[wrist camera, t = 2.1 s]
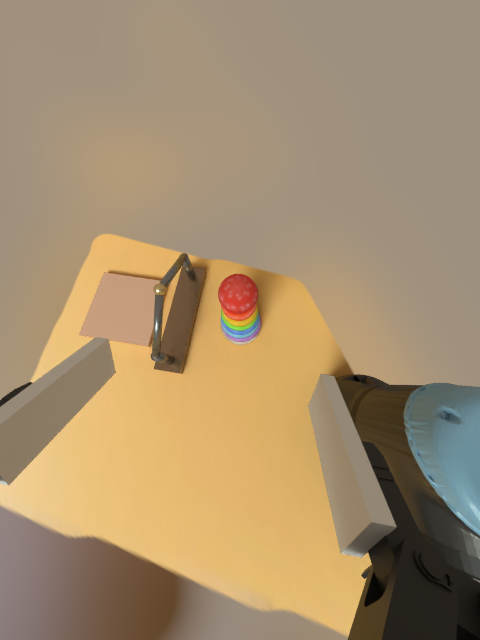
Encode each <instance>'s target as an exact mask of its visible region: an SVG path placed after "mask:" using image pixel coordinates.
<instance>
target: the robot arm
mask: <svg viewBox="0 0 480 640" xmlns="http://www.w3.org/2000/svg"><path fill="white" fill-rule="evenodd" d="M115 373H116V371H115V367H114V362H113V358H112V353H111V348H110V344H109V339H107V338H101V337H96V338H94V339H93V340H92V341H90V342H89V343H87V344H86V345H85V346H83V347H82V348H81V349H79V350H78V351H76V352H75V353H74V354H72V355H71V356H70V357H68V358H67V359H65V360H64V361H63V362H61V363H60V364H59V365H57V366H56V367H54V368H53V369H52V370H50V371H49V372H48V373H46V374H45V375H43V376H42V377H41V378H39V379H38V380H37V381H35V382H34V383H31V382H29V383H27V384H26V385H23V386H21V387H19V388H17V389H15V390H13V391H12V392H10V393H9V394H7V395H6V396H5V397H3V398H2V400H0V484H4V485H10V484H11V483H12V482H13V480H14V479H15V478H16V477H17V476H18V475H19V474H20V473H21V472H22V471H23V470H24V469H25V468H26V467H27V466H28V465H29V464H30V463H31V461H32V460H33V459H34V458H35V457H36V456H37V455H38V454H39V453H40V452H41V451H42V450H43V449H44V448H45V447H46V446H47V445H48V444H49V442H50V441H51V440H52V439H53V438H54V437H55V436H56V435H57V434H58V433H59V432H60V431H61V430H62V429H63V428H64V427H65V426H66V424H67V423H68V422H69V421H70V420H71V419H72V418H73V417H74V416H75V415H76V414H77V413H78V412H79V411H80V410H81V409H82V408H83V407H84V405H85V404H86V403H87V402H88V401H89V400H90V399H91V398H92V397H93V396H94V395H95V394H96V393H97V392H98V391H99V390H100V389H101V388H102V386H103V385H104V384H105V383H106V382H107V381H108V380H109V379H110V378H111V377H112V376H113V375H114V374H115ZM308 406H309V411H310V415H311V420H312V425H313V429H314V434H315V438H316V443H317V447H318V452H319V457H320V461H321V466H322V470H323V475H324V479H325V484H326V489H327V493H328V498H329V502H330V507H331V512H332V516H333V521H334V525H335V530H336V534H337V539H338V544H339V548H340V553H341V554H346V555H351V556H356V557H361V558H362V557H363V556H364V555H365V554H366V553H369V556H370V559H371V563H372V565H371V566H370V567H368V568H367V569H366V570H365V571H364V572H363V574H362V575H361V576H362V577H363V578H364V579H365V578H367V579H366V583H365V586H364V589H363V592H362V595H361V599H360V602H359V605H358V608H357V611H356V615H355V618H354V621H353V624H352V627H351V631H350V634H349V637H348V640H480V387H472V386H458V385H454V384H448V383H433V384H427V385H389V384H387V383H385V382H383V381H381V380H379V379H376V378H374V377H371V376H366V375H346V376H342V377H339V378H337V379H335V377H334V376H331V375H325V374H321V375H320V377H319V380H318V383H317V385H316V388H315V390H314V393H313V395H312V398H311V400H310V403H309V405H308Z"/></svg>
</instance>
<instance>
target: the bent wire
mask: <svg viewBox="0 0 480 640" xmlns="http://www.w3.org/2000/svg"><path fill="white" fill-rule="evenodd" d="M181 266H182V269H181V273H180V276H179V280H178V283H177V287H176V291H175V294H174V298H173V301H172V305H171V309H170V312H169V316H168V319H167V323H166V327H165V330H164V334H163V337H162V341H161V334H162V317H163V301H164V294H165V293H166V288H167V286H168V285H169V283H170V282H171V281H172V279H173V278H174V276H175V275H176V273H177V272H178V271H179V269H180V268H181ZM205 276H206V269H204V268H197V267H192V265H191V262H190V260H189V257H188V255H187V254H185V253H183V254H181V255H180V256H179V258H178V259H177V261H176V262H175V263H174V264H173V266H172V267H171V268H170V270H169V271H168V272H167V274H166V275H165V276H164V278H163V279H162V280H161V281H160V283H158V284H156V285H155V286H154V287H153V291H154V293H155V306H154V325H153V344H152V354H151V359H152V360H154V361H156V363H155V366H154V369H157V370H163V371H169V372H175V373H181V374H182V373H183V369H184V365H185V361H186V356H187V352H188V348H189V344H190V339H191V335H192V331H193V327H194V322H195V318H196V314H197V310H198V306H199V301H200V297H201V293H202V289H203V284H204V280H205Z"/></svg>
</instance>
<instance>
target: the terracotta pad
mask: <svg viewBox="0 0 480 640" xmlns="http://www.w3.org/2000/svg"><path fill="white" fill-rule="evenodd" d="M158 283H160V281H159V280H153V279H146V278H139V277H132V276H125V275H118V274H111V273H105V272H104V274H103V276H102V279H101V281H100V284H99V286H98V289H97V291H96V294H95V296H94V299H93V301H92V304H91V306H90V309H89V311H88V313H87V316H86V318H85V321H84V323H83V326H82V328H81V331H80V333H79V335H81V336H85V337H91V338H96V337H101V338H107V339H109V340H110V341H116V342H122V343H128V344H134V345H140V346H146V347H150V345H151V342H152V339H153V325H154V306H155V293H154V291H153V287H154V286H155V285H156V284H158ZM167 287H168V286H167ZM166 291H167V288H166ZM165 294H166V293H165ZM165 294H164V297H165Z"/></svg>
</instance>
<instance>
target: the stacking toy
mask: <svg viewBox="0 0 480 640" xmlns="http://www.w3.org/2000/svg"><path fill="white" fill-rule="evenodd" d="M218 297H219V301H220V303H221V307H222V309H221V330H222V333H223V335H224V337H225V338H226V339H227V340H228V341H230V342H231V343H234V344H237V345H245V344H249V343H251V342H252V341H254V340H255V339H256V338H257V336H258V335H259V333H260V330H261V318H260V315H259V312H258V305H257V299H258V289H257V286H256V284H255V283H254V281H253V280H252V279H251V278H249V277H248V276H246V275H243V274H234V275H231V276H229V277H227V278H226V279H225V280H223V282H222V283H221V285H220V287H219V291H218Z"/></svg>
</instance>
